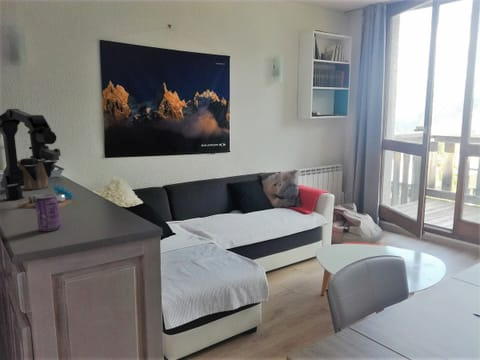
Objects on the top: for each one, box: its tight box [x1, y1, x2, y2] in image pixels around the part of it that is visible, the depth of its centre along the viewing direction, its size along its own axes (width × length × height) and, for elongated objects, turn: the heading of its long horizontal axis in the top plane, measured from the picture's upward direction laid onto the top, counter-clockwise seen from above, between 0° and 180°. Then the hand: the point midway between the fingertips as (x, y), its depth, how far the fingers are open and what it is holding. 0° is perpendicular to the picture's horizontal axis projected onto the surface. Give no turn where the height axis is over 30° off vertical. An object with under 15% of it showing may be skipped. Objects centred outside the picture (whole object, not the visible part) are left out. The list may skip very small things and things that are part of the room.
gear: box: [52, 185, 74, 199], centre depth 189 cm, size 11×6×10 cm
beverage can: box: [35, 193, 62, 232], centre depth 138 cm, size 7×7×12 cm
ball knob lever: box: [31, 193, 66, 203], centre depth 179 cm, size 16×4×3 cm, turn 80°
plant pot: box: [17, 159, 49, 191], centre depth 223 cm, size 16×16×16 cm
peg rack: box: [17, 195, 73, 209], centre depth 179 cm, size 20×10×4 cm, turn 80°
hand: (42, 178), depth 178 cm, fingers open, 9 cm apart
